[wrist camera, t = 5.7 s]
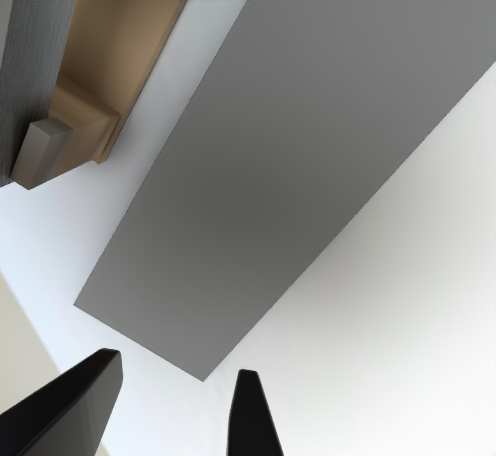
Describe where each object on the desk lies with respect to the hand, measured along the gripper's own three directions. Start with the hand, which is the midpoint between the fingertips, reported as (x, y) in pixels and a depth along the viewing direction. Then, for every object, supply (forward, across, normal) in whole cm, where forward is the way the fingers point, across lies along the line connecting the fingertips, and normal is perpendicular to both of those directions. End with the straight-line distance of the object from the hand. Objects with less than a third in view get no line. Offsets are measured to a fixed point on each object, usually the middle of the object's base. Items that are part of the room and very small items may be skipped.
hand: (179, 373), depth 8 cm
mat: (+13, 0, 0) cm, 13 cm away
